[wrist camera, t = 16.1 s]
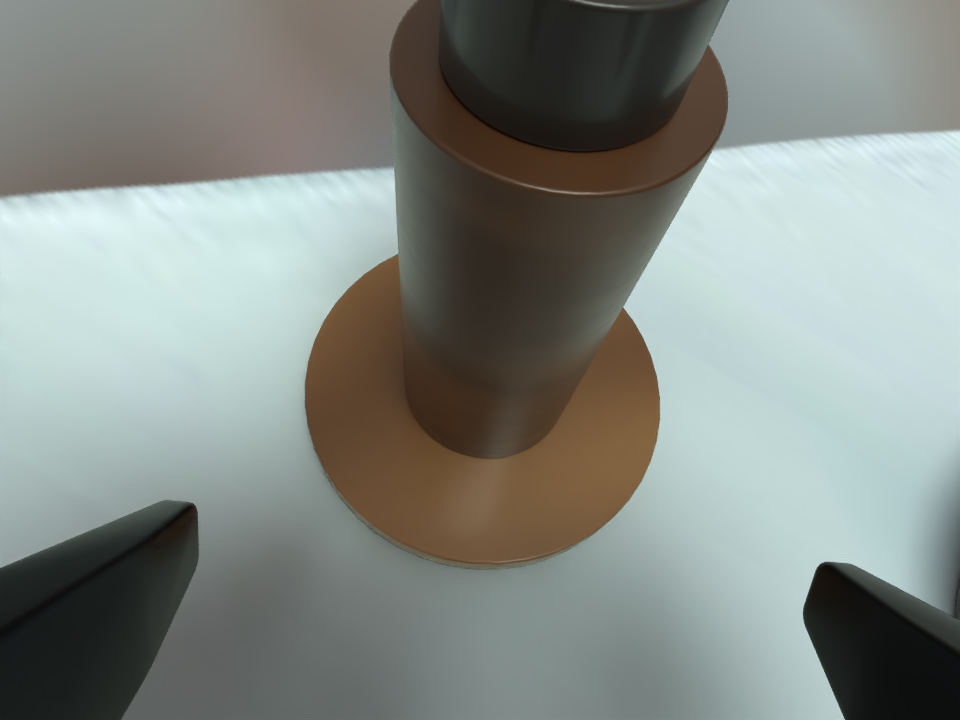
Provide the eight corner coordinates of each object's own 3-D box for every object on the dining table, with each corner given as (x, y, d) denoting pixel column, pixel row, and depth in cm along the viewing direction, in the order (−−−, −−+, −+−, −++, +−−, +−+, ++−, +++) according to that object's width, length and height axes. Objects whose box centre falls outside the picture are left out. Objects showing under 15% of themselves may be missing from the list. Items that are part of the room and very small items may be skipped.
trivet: (715, 475, 19) (730, 465, 18) (388, 642, 16) (386, 640, 15) (549, 218, 23) (554, 201, 22) (264, 313, 20) (257, 296, 19)
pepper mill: (585, 346, 19) (832, -123, 8) (534, 485, 17) (776, 115, 6) (444, 290, 20) (480, -230, 8) (376, 419, 18) (296, -49, 6)
